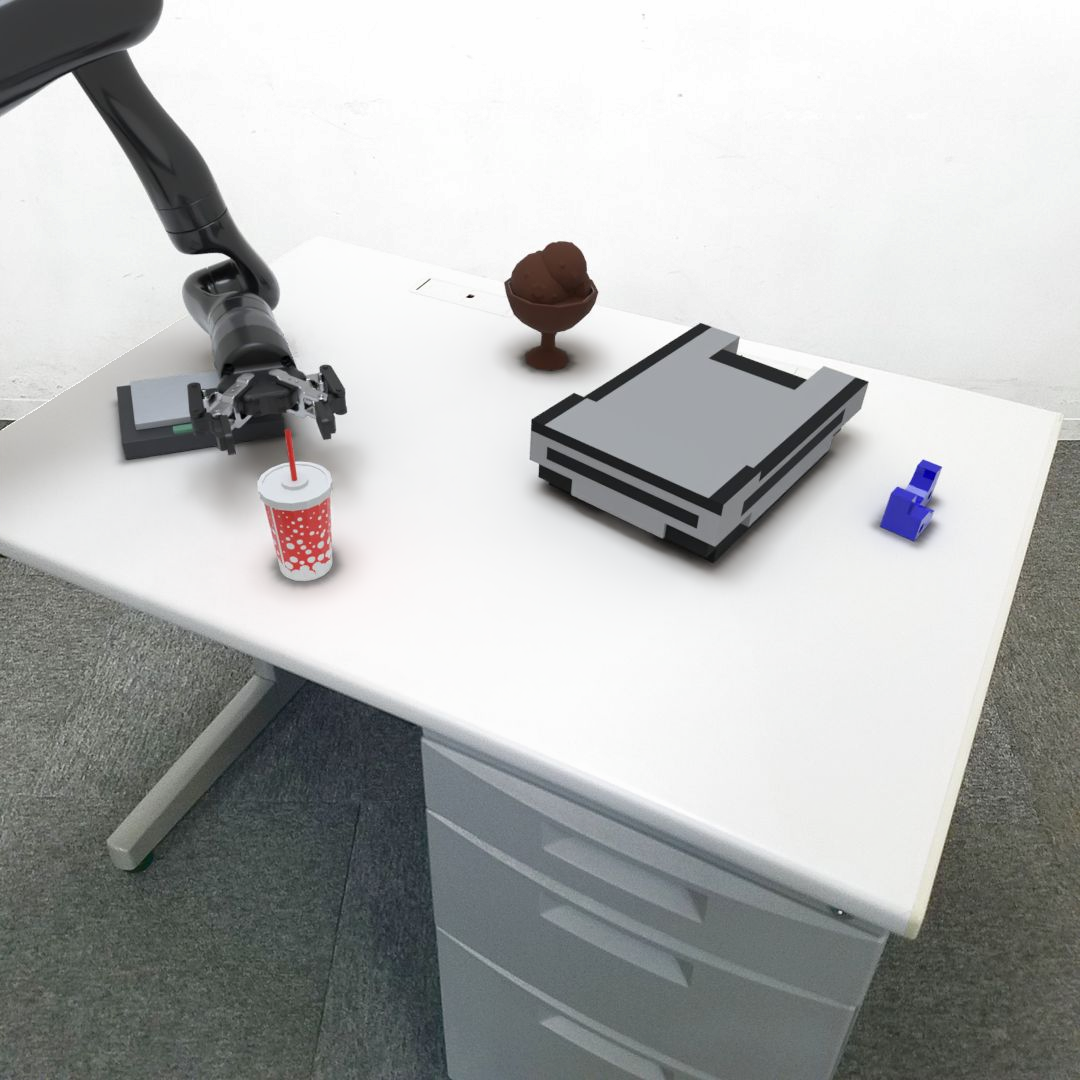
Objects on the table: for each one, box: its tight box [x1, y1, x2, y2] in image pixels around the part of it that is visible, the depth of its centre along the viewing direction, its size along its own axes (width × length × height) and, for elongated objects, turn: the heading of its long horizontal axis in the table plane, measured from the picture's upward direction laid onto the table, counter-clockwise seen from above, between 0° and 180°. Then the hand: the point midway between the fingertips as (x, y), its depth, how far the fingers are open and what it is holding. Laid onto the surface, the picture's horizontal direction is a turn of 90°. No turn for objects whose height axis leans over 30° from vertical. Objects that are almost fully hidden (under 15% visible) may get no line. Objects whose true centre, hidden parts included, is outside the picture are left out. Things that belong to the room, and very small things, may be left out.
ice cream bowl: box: [503, 240, 599, 372], centre depth 113 cm, size 11×11×15 cm
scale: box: [116, 369, 286, 460], centre depth 103 cm, size 16×12×3 cm
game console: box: [529, 322, 869, 564], centre depth 99 cm, size 21×32×8 cm, turn 142°
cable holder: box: [879, 458, 943, 542], centre depth 94 cm, size 8×4×4 cm, turn 141°
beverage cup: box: [256, 428, 334, 582], centre depth 81 cm, size 6×6×14 cm
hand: (279, 438), depth 87 cm, fingers open, 8 cm apart
